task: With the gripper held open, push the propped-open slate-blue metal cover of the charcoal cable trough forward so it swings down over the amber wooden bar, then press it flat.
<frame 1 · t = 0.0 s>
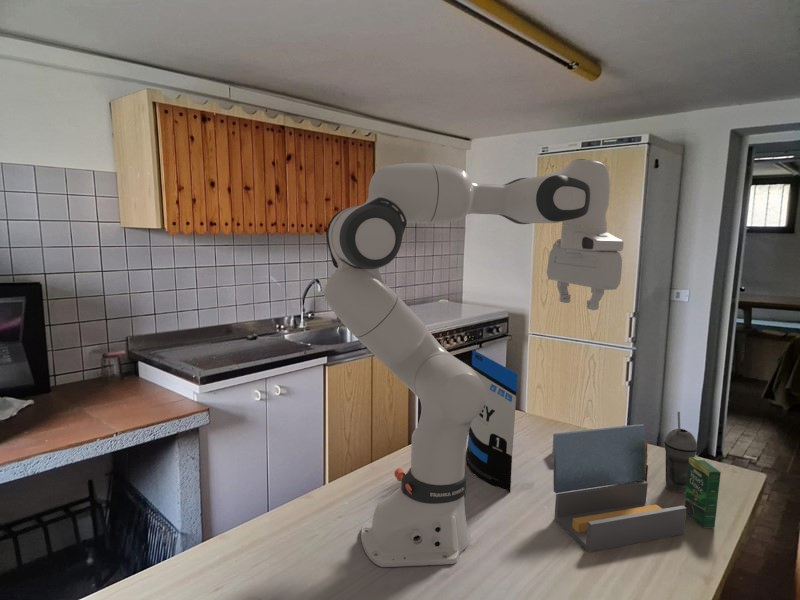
hand: (578, 305, 108), 48 cm above the table, tool pointing down, fingers open, 8 cm apart
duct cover: (600, 457, 116), point 13 cm above the table, hinge at 97.0°
coffee box: (698, 518, 115), on the table
duct trough: (617, 526, 111), on the table
ammunition clip: (630, 475, 135), on the table
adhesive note: (565, 458, 144), on the table
amber wooden bar: (617, 526, 111), resting on duct trough
beverage cup: (675, 489, 128), on the table
protein powder: (487, 470, 136), on the table
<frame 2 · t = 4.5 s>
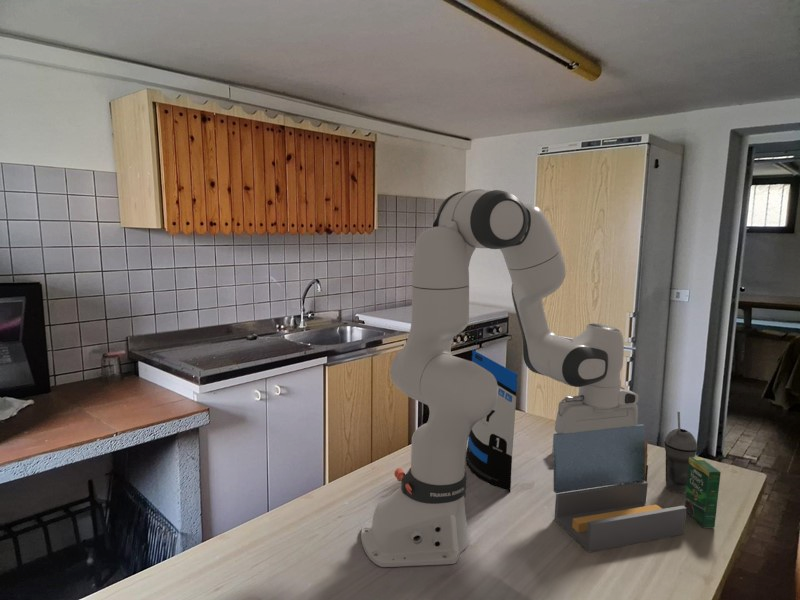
hand: (593, 451, 118), 13 cm above the table, tool pointing down
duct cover: (600, 457, 116), point 13 cm above the table, hinge at 96.7°, touching gripper
everything else where it was.
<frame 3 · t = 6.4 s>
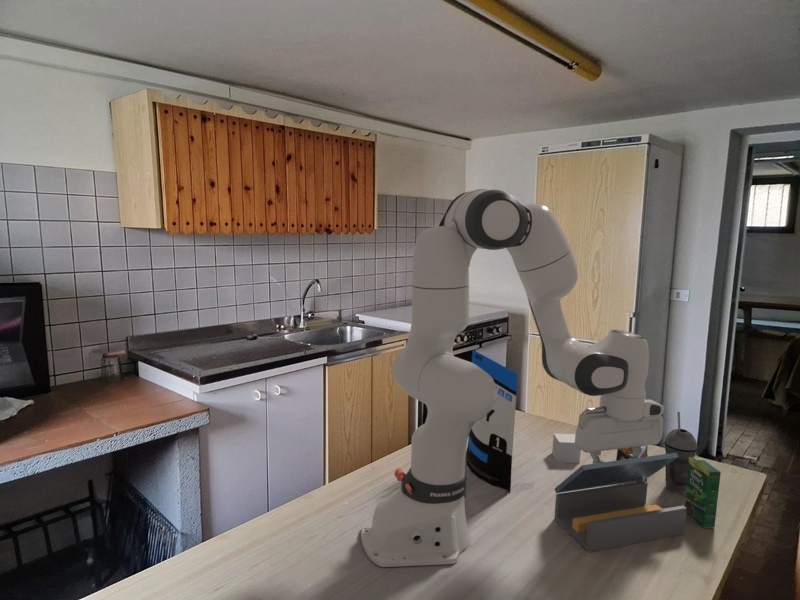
hand: (616, 465, 111), 13 cm above the table, tool pointing down
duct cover: (615, 473, 112), point 11 cm above the table, hinge at 48.3°, touching gripper
everything else where it was.
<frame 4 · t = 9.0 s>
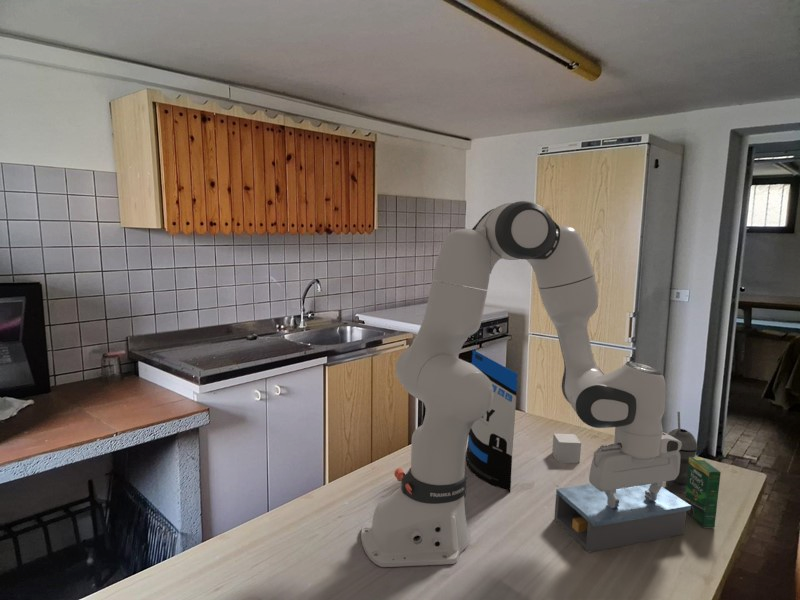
hand: (631, 503, 107), 7 cm above the table, tool pointing down, fingers open, 8 cm apart
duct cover: (622, 499, 110), point 7 cm above the table, hinge at -0.3°, touching gripper
everything else where it was.
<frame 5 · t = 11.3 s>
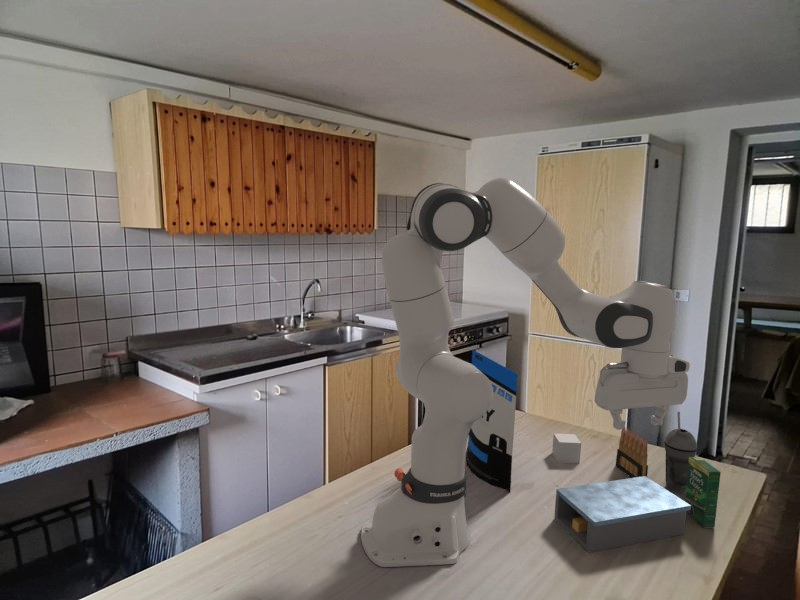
hand: (637, 426, 105), 24 cm above the table, tool pointing down, fingers open, 8 cm apart
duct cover: (622, 499, 110), point 7 cm above the table, hinge at -0.3°
everything else where it was.
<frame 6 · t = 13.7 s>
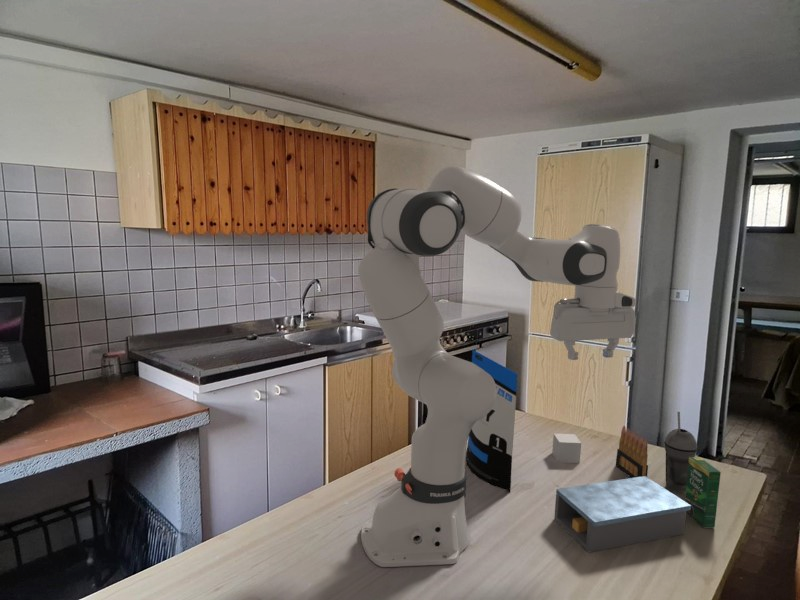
hand: (590, 358, 116), 35 cm above the table, tool pointing down, fingers open, 8 cm apart
nothing on the table moved.
at the end: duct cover at +0° (first picture: +97°); amber wooden bar inside the target area (0.0 cm from its centre), resting on duct trough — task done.
